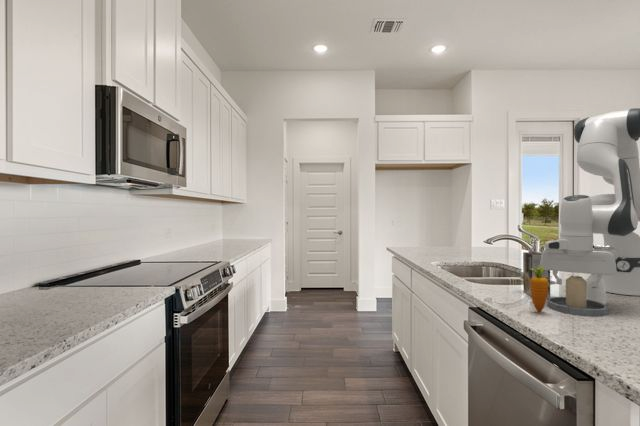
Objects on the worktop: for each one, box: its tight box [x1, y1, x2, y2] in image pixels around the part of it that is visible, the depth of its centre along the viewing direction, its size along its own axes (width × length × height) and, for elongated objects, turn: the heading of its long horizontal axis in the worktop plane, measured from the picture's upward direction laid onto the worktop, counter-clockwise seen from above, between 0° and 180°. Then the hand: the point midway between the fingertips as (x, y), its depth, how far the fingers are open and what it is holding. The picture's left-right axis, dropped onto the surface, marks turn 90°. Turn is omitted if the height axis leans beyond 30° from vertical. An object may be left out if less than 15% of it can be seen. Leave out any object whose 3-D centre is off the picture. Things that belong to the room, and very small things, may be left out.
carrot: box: [530, 265, 548, 313], centre depth 110 cm, size 5×5×15 cm
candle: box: [565, 275, 587, 309], centre depth 114 cm, size 6×6×10 cm
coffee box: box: [522, 251, 551, 299], centre depth 133 cm, size 9×6×16 cm
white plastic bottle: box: [585, 274, 607, 305], centre depth 121 cm, size 6×12×6 cm
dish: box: [546, 296, 609, 318], centre depth 114 cm, size 16×16×2 cm
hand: (576, 285), depth 114 cm, fingers open, 8 cm apart
